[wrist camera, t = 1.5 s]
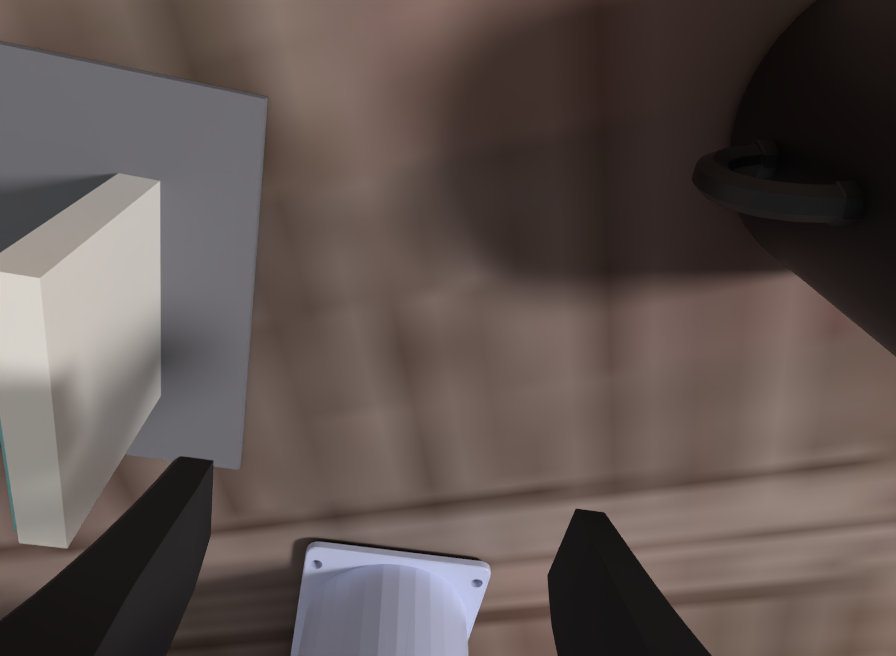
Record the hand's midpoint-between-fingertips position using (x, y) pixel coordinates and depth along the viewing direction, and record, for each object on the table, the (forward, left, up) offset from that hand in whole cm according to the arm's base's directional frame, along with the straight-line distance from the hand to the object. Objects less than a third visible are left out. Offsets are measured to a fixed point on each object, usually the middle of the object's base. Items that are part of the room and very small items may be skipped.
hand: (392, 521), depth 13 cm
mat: (-2, +11, -11) cm, 16 cm away
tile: (-2, +8, -10) cm, 13 cm away
